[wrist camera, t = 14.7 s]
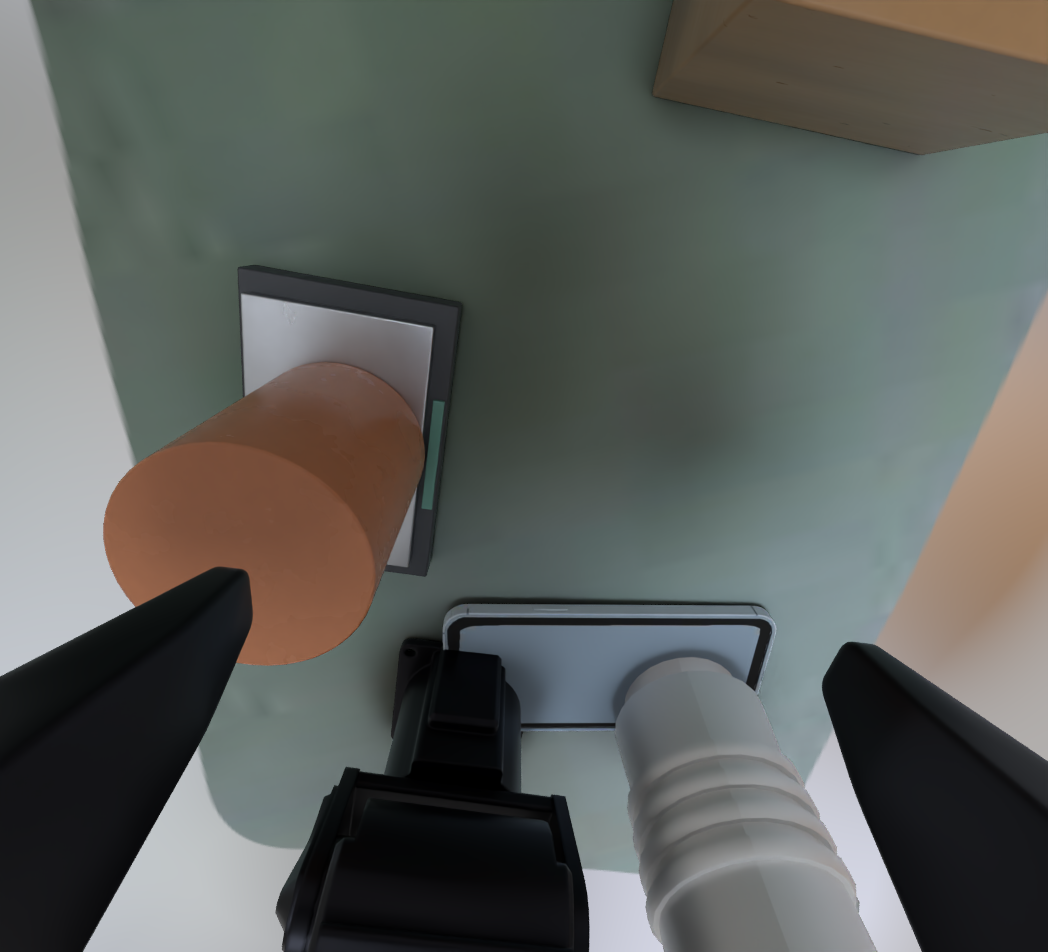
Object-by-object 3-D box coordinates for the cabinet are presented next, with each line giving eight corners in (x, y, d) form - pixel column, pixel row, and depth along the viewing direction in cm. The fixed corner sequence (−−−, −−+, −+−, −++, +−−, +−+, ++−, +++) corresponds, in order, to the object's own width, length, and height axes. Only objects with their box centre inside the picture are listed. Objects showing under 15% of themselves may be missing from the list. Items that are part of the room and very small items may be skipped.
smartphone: (747, 731, 27) (446, 732, 26) (740, 715, 28) (448, 716, 27) (782, 613, 24) (441, 612, 23) (772, 600, 25) (443, 598, 24)
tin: (448, 499, 20) (413, 636, 14) (297, 538, 21) (191, 688, 14) (386, 339, 18) (305, 409, 11) (218, 389, 19) (42, 484, 12)
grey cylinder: (728, 744, 28) (924, 1230, 14) (596, 734, 28) (670, 1224, 14) (766, 641, 25) (1056, 1128, 12) (620, 630, 25) (742, 1117, 11)
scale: (430, 561, 24) (424, 584, 22) (261, 537, 23) (243, 559, 21) (462, 302, 19) (457, 309, 17) (253, 264, 18) (229, 268, 17)
